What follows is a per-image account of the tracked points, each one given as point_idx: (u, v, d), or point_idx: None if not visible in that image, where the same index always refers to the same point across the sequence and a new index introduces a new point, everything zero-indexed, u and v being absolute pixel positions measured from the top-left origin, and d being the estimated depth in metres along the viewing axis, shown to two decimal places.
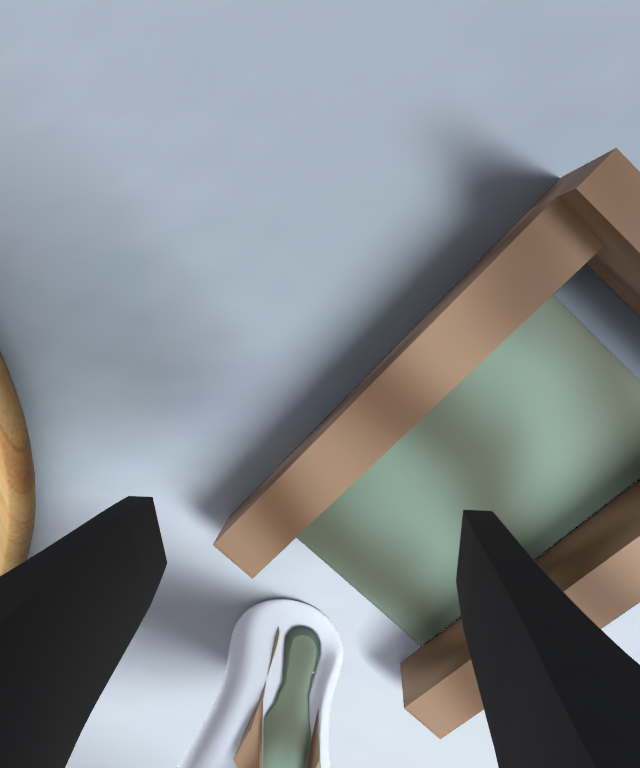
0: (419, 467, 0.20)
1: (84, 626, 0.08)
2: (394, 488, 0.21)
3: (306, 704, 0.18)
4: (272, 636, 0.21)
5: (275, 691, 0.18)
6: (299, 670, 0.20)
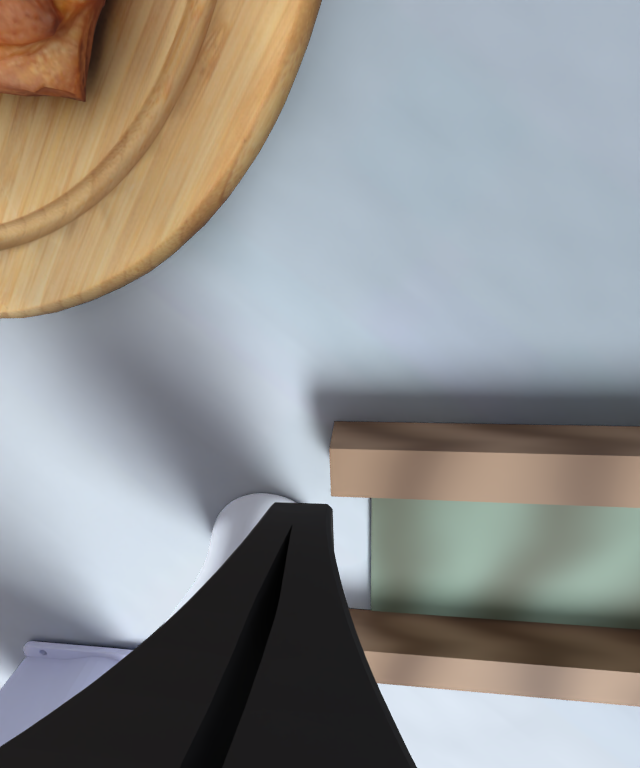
0: (516, 514, 0.21)
1: None
2: (482, 511, 0.21)
3: None
4: None
5: None
6: None
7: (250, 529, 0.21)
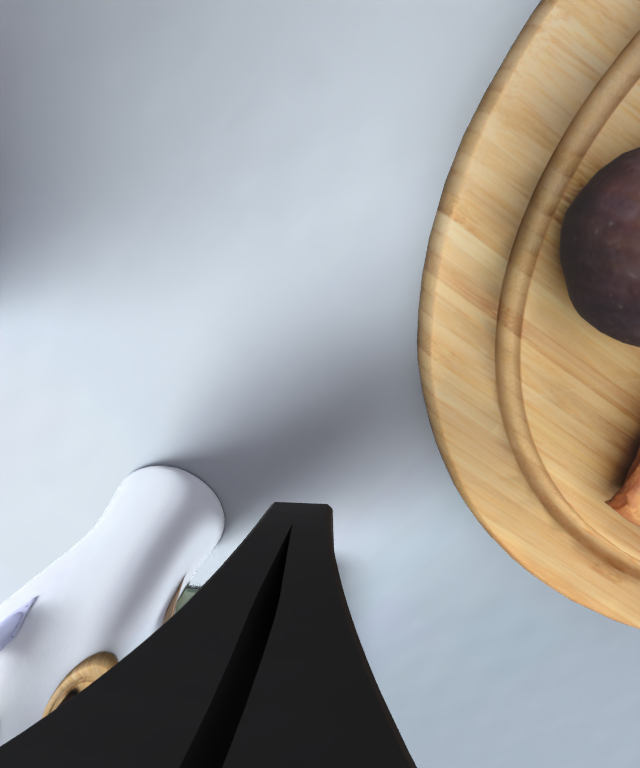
0: None
1: None
2: None
3: None
4: None
5: None
6: None
7: (201, 544, 0.21)
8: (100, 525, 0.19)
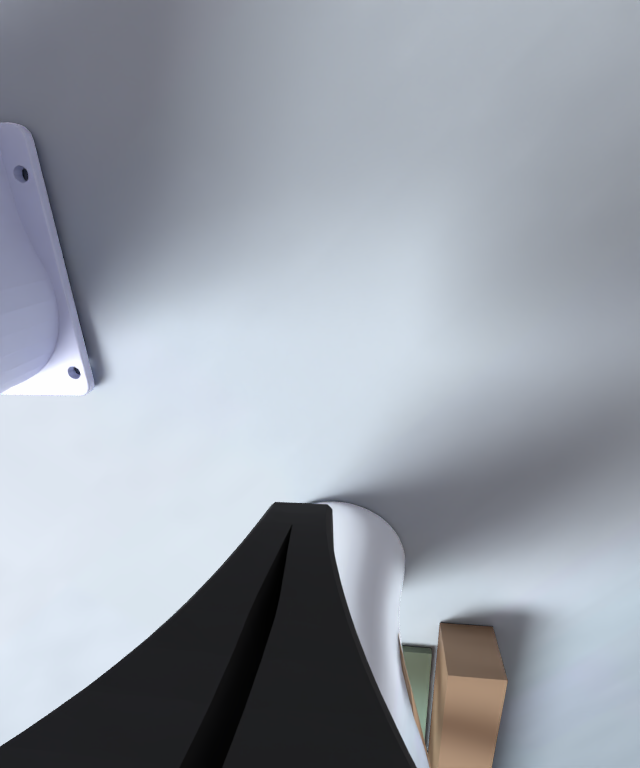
0: None
1: None
2: None
3: None
4: None
5: None
6: None
7: (399, 602, 0.17)
8: None
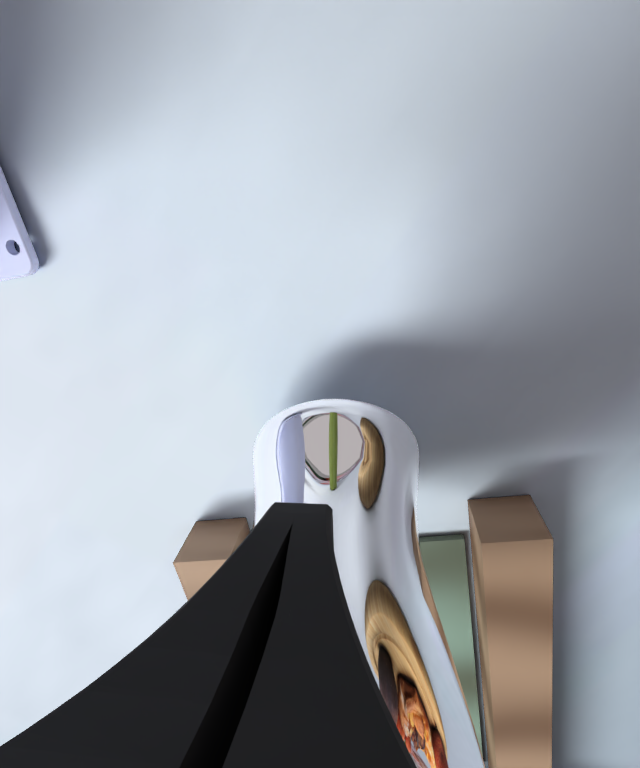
0: None
1: None
2: None
3: None
4: None
5: None
6: None
7: (416, 503, 0.14)
8: None
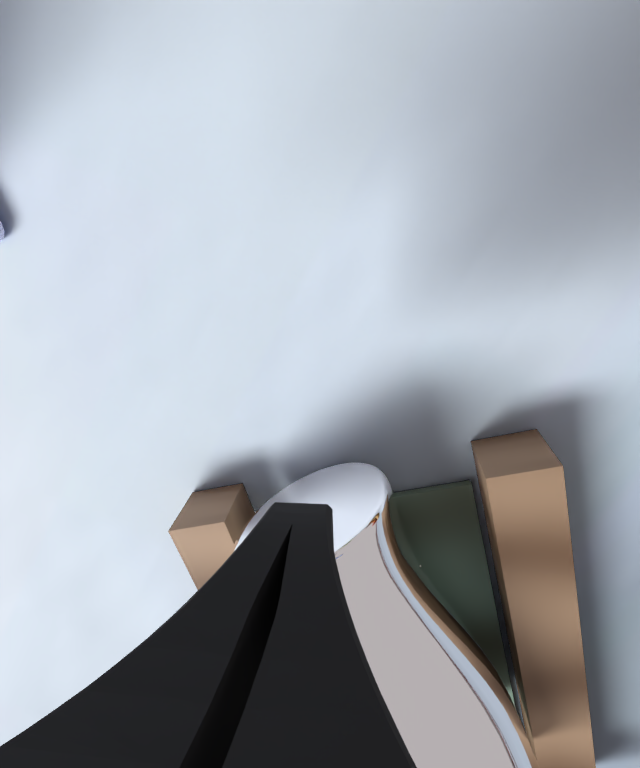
0: None
1: None
2: (446, 590, 0.19)
3: None
4: (404, 534, 0.15)
5: None
6: None
7: (391, 586, 0.14)
8: None
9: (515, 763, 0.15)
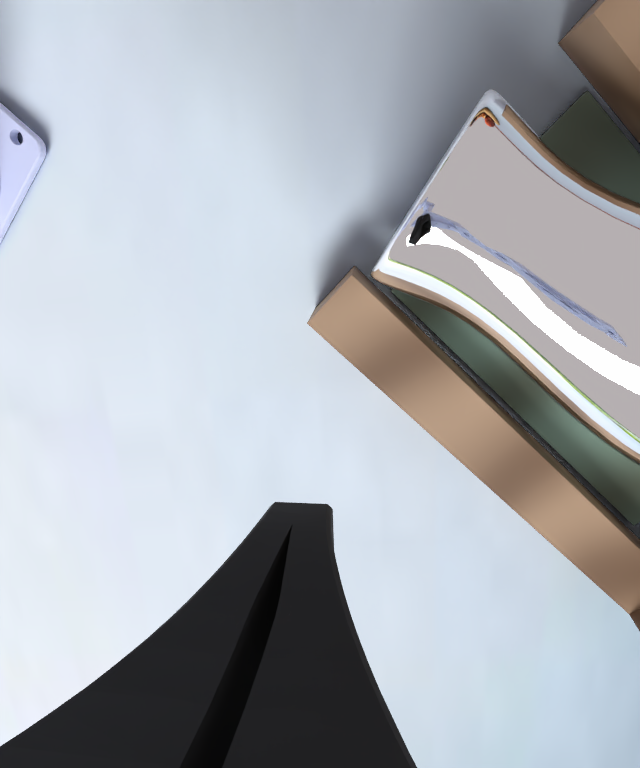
0: None
1: None
2: None
3: None
4: None
5: None
6: None
7: (552, 163, 0.11)
8: (490, 330, 0.13)
9: None
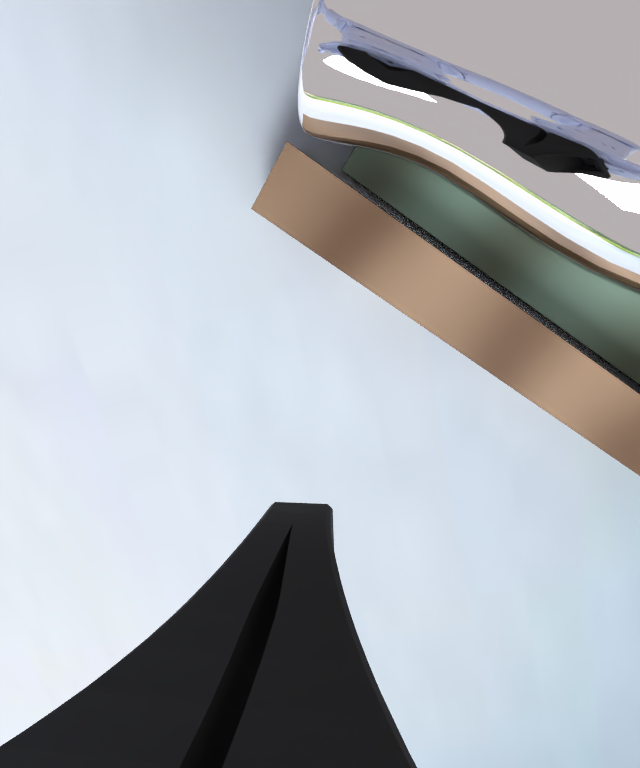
0: None
1: None
2: None
3: None
4: None
5: None
6: None
7: None
8: (437, 152, 0.12)
9: None
